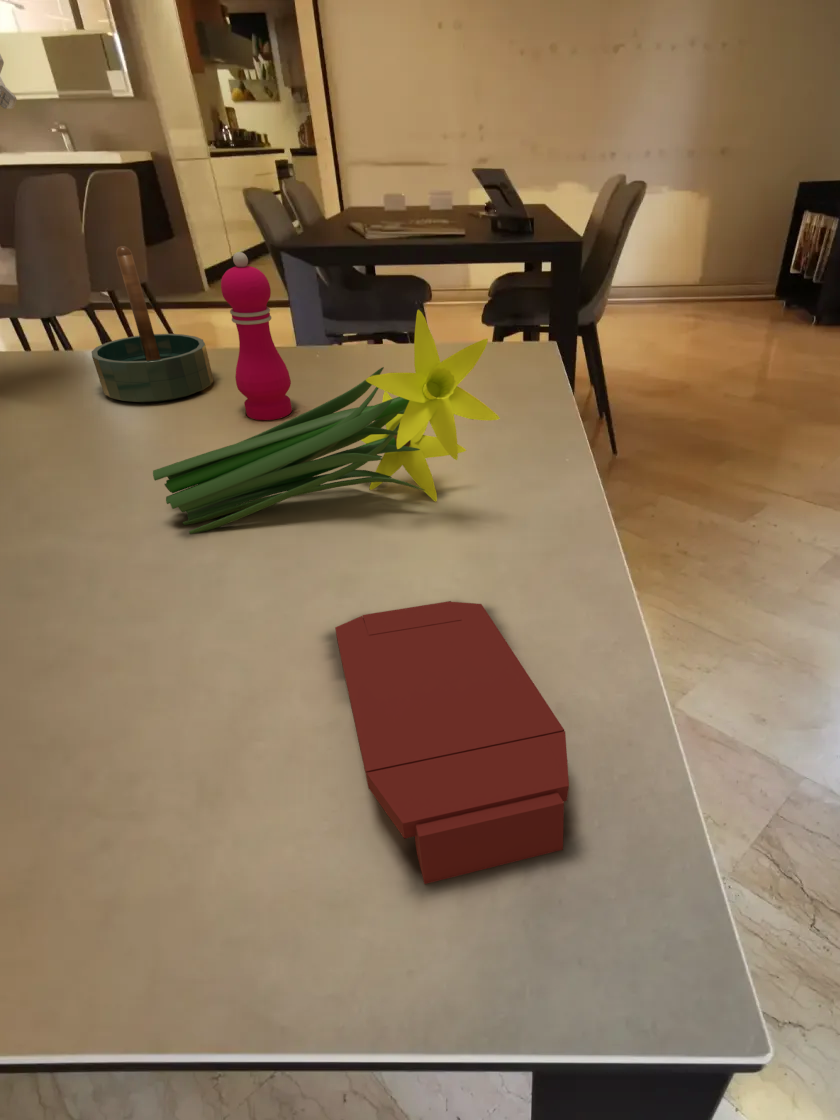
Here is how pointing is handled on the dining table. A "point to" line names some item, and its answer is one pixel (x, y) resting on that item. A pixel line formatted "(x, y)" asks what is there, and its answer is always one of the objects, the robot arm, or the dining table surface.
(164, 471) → the daffodil flowers
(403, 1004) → the dining table surface
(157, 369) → the bowl
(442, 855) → the carton
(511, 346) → the dining table surface
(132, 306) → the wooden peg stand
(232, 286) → the pepper mill
